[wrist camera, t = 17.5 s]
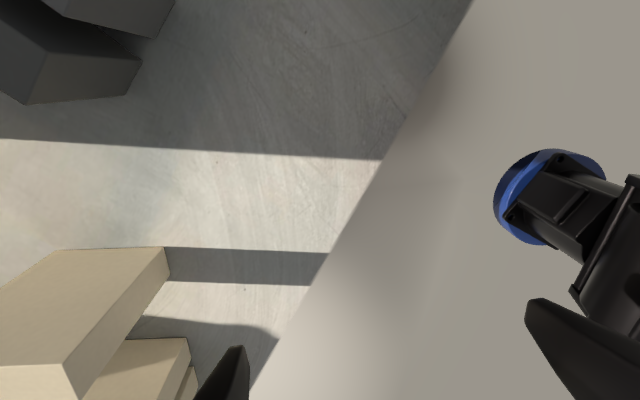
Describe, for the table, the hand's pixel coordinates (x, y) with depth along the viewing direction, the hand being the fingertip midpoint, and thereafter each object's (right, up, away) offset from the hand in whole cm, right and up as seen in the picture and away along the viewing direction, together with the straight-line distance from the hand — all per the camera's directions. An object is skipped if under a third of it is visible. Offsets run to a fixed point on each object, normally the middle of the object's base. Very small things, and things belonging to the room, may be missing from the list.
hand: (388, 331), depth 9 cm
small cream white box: (-18, -1, +14) cm, 22 cm away
